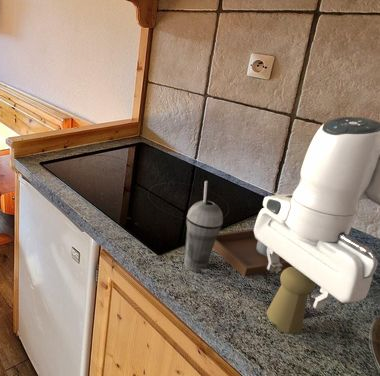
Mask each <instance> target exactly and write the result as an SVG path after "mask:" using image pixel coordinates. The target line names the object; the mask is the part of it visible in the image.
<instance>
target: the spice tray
mask: <svg viewBox="0 0 380 376" xmlns="http://www.w3.org/2000/svg"><path fill="white" fill-rule="evenodd" d="M257 242H258V239H256V238H255V234H254V228H249V229H241V230H233V231H226V232H219V233H218V234H217V237H216V240H215V243H214V246H213V249H212V250H214V252H215V253H217V254H218V255H219V256H220V257H221V258H223V259H224V261H226V262H227V263H228V264H229V265H230V266H231V267H232V268H233V269H235V270H236V271H237V272H239V274H240V275H241V276H243V278H245V277H251V276H257V275H263V274H264V275H265V274H269V273H270V274H271V272H270V271H269V270H268V269H267V267H268V263H269V261H268V257H266V256H264V255H262V254H260V253H259V252H258V251H257V250H256V245H257ZM279 261H280V263H281V264H282V265H283V266H282V268H281V271H282V272H283V271H284V270H285V269H286V268H288V267H294V266H292V265H291V264H290V263H288V262H287V261H286V260H284V259H283V258H279Z"/></svg>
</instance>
